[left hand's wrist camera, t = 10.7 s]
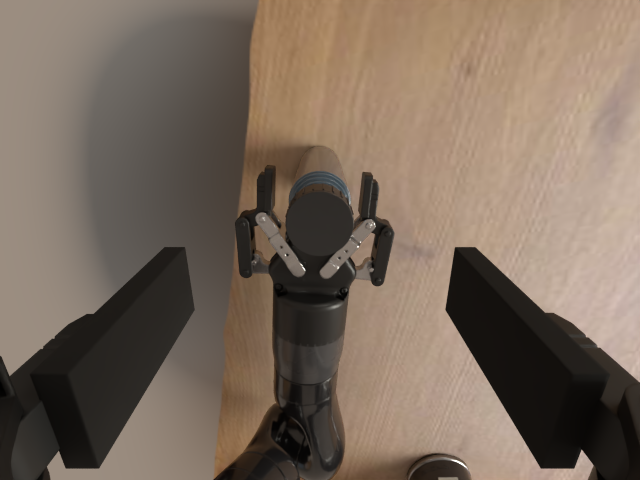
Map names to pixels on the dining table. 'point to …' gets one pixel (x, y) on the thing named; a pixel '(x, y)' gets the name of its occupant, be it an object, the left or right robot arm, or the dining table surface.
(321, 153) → the bottle
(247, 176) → the dining table surface
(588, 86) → the dining table surface
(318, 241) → the cap
